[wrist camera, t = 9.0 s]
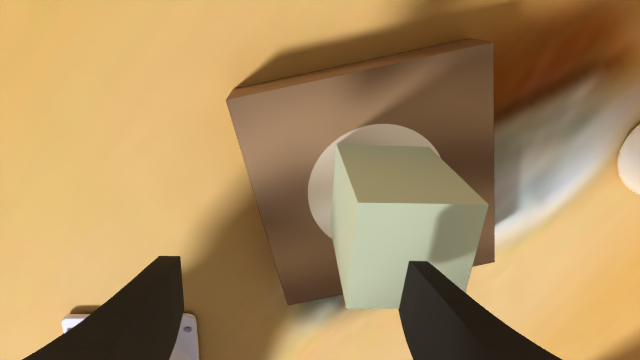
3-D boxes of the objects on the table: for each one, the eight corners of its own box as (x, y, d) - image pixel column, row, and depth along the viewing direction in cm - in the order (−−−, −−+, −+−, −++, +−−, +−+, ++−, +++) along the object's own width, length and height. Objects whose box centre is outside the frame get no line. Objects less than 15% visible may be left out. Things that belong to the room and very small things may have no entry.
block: (414, 227, 20) (461, 307, 15) (330, 226, 20) (346, 309, 14) (428, 146, 18) (488, 204, 13) (336, 143, 18) (358, 202, 13)
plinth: (474, 238, 24) (494, 262, 22) (287, 277, 24) (287, 306, 22) (468, 38, 19) (494, 42, 17) (233, 89, 19) (225, 100, 17)
